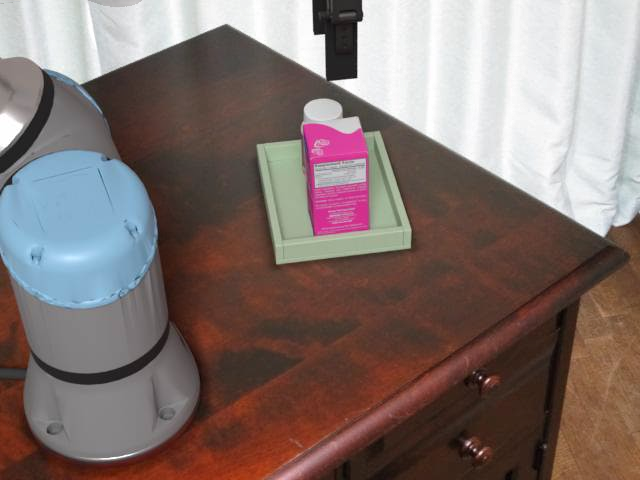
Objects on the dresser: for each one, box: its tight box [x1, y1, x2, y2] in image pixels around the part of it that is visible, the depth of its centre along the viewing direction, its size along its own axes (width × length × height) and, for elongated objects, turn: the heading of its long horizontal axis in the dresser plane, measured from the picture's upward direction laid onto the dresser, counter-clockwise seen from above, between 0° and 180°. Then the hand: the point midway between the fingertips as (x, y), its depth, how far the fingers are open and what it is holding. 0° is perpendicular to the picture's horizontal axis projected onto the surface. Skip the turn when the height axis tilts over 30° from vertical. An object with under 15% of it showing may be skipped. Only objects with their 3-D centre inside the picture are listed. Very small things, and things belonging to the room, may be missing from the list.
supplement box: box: [302, 116, 370, 236], centre depth 113 cm, size 6×6×12 cm
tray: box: [255, 130, 413, 265], centre depth 120 cm, size 14×17×2 cm
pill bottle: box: [300, 98, 344, 179], centre depth 121 cm, size 5×5×8 cm
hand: (334, 53), depth 103 cm, fingers open, 7 cm apart
